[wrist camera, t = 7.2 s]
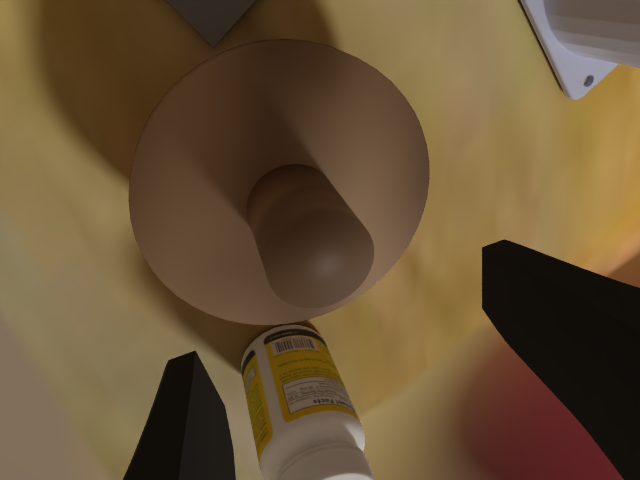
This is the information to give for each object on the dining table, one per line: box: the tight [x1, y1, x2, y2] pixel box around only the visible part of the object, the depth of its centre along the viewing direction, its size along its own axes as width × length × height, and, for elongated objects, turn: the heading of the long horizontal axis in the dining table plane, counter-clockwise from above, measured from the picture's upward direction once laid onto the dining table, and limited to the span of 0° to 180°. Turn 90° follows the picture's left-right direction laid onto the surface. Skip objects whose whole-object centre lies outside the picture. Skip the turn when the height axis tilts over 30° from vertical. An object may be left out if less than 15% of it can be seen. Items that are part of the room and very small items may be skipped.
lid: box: [129, 39, 429, 325], centre depth 14 cm, size 10×10×4 cm
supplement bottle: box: [241, 325, 374, 480], centre depth 21 cm, size 5×5×8 cm
